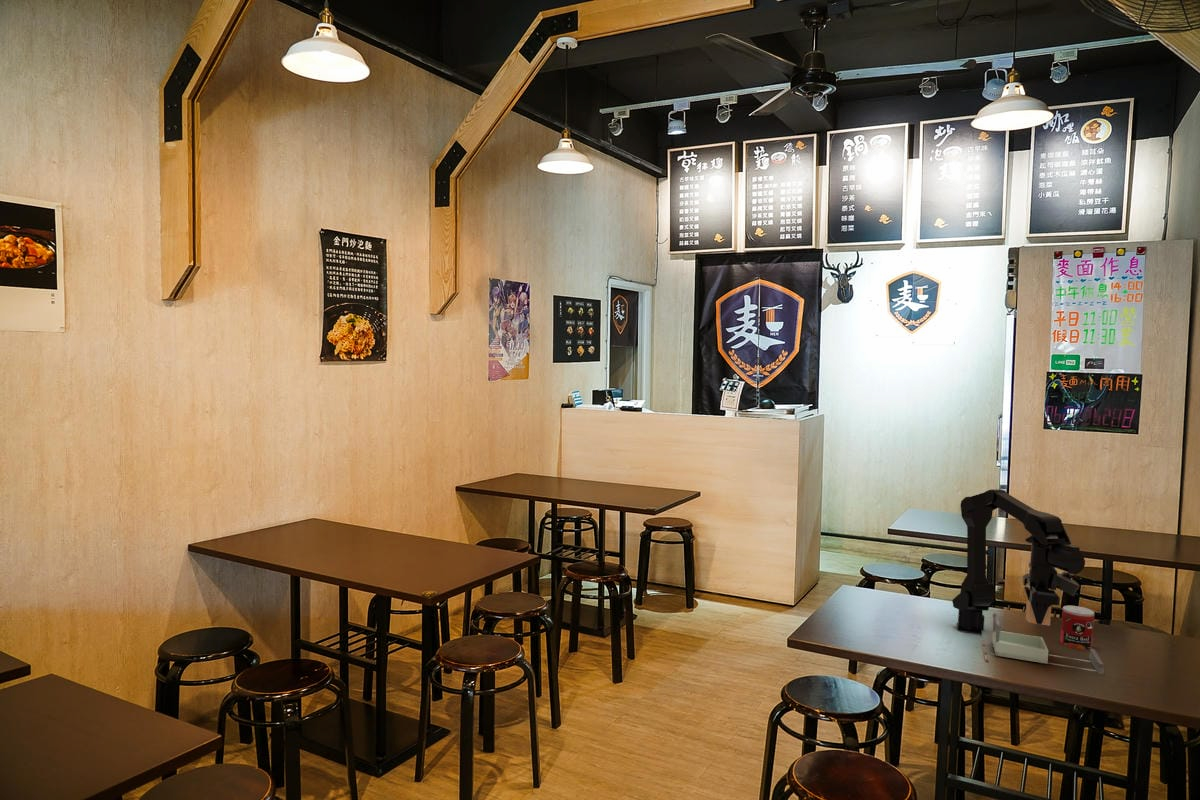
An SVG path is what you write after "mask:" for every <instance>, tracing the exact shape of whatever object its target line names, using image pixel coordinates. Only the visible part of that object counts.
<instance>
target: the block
mask: <svg viewBox="0 0 1200 800" xmlns="http://www.w3.org/2000/svg"><path fill="white" fill-rule="evenodd" d="M1051 614H1052V606H1050V607H1049V608H1048V610H1047V612H1046V614H1045V617H1044V619H1043V622H1042V624H1041V625H1044V626H1049V627H1050V626H1051V617H1052V615H1051ZM1025 620H1026V621H1027V623H1030V624H1034V625H1035V624H1036V625H1038V624H1037V622H1036V619H1035V616H1034V613H1033V609H1032V606H1031V603H1030V600H1028V599H1027V600H1026V606H1025Z"/></svg>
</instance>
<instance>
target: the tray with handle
mask: <svg viewBox="0 0 1200 800" xmlns="http://www.w3.org/2000/svg"><path fill="white" fill-rule="evenodd" d="M992 617H993V619H992V620H993V623H992V639H991V642H992V645H993V646H992V647H993V651H994V654H995V655H994V656H997V657H1000V658H1004V657H1005V658H1011V659H1016V660H1021V661H1029V662H1034V663H1038V664H1041V665H1042V664H1047V662H1048V661H1049V660H1048V659H1049V655H1048V654H1049V648H1048V647H1047V644H1046V643H1045V640H1044V638H1043V637H1042V636H1038V635H1037V636H1036V635H1029V634H1023V633H1019V632H1018V633H1017V632H1011V631H1002V630H1001V629H1002V625H1001V622H1000V618H999V616H998V614H997V613H995V612H994V613H993V614H992ZM1048 663H1049V662H1048ZM1047 665H1048V664H1047Z"/></svg>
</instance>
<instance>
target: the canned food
mask: <svg viewBox="0 0 1200 800" xmlns="http://www.w3.org/2000/svg"><path fill="white" fill-rule="evenodd" d="M1060 627H1061V628H1060V640H1059V641H1060V644H1062V645H1064V646H1065V647H1069V648H1071V649H1075V650H1076V649H1077V650H1083V651H1086V650H1090V649H1093V638H1094V627H1095V611H1094V610H1092V609H1090V608H1087V607H1083V606H1076V605H1064V606H1063V607H1062V613H1061V625H1060Z"/></svg>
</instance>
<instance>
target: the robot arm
mask: <svg viewBox="0 0 1200 800" xmlns="http://www.w3.org/2000/svg"><path fill="white" fill-rule="evenodd" d="M997 509H1000V510H1002V511H1003V512H1004V513H1006V514H1008V515H1010V516H1011V517H1013V518H1014V519H1016V520H1017V521H1019V522H1020V523H1021V524H1023V527H1024V529H1025V530H1026V531H1027V532H1028V533H1029V534H1030V536H1029V537H1026V538H1025V540H1024V541H1025V542H1027V543H1029V544H1031V548H1030V549H1031V550H1030V551H1031V552H1030V562H1028V568H1029V570H1028V571H1029V572H1028V573H1025V574H1024V575H1023V576H1022V583H1021V584H1022V585H1023V586H1024V587H1023V589H1024V592H1025V595H1026V597H1027V600H1030V603H1031V606H1032V609H1033V613H1034V616H1035V619H1036V622H1037V624H1036V625H1042V622H1043V619H1044V617H1045V614H1046V612H1047V610H1048V608H1049V607H1050V606H1051V607H1052V606H1060V596H1059V594H1058V593H1057V592H1056V591H1057V589H1058V590H1060V591H1062V592H1065V593H1066V594H1068V595H1069V596H1071V597H1075V595H1076V593H1077V592H1078V590H1079V588H1080V584H1079V583H1078V582H1077V581H1076V580H1075V579H1073V578H1072V575H1077V574H1079V573H1081V572H1082V571H1083V569H1084V568H1085V566H1086V560H1085V557H1084V554H1082V553H1081V552H1080V547H1079V546H1077V545H1072V542H1071V540H1070V537H1069V535H1068V533H1067V531H1066V528H1065V527H1064V524H1063V521H1062V519H1061V518H1060V517H1059V516H1057V515H1054V514H1051V513H1049V512H1044V511H1040V510H1036V509H1034V508H1033V507H1031V506H1029V505H1027V504H1026V503H1025V502H1023V501H1021V500H1019V499H1017V498H1016V497H1014V496H1012V495H1011V494H1010V493H1008V492H1007V491H1006V490H1004V489H992V488H991V489H989V490H986V491H984V492H982V493H978V494H975V495H972V496H965V497H964V498H963V499H962V500H961V501H960V512H961V513H960V514H961V518H962V520H963V522H964V524H966V526H967V527H966V529H967V531H966V532H967V534H966V536H967V537H966V543H967V544H966V545H967V547H966V549H967V551H966V553H967V554H966V555H967V556H966V558H967V559H966V569H967V570H966V576H965V577H964V579H963V580H962V583H961V585H960V593H959V594H957V595H956V596H955V597H954V598H953V599H952V607H953V608H954V609H957V610H958V614H957V623H956V628H957V631H960V632H966V633H971V634H979V635H983V632H982V631H984V630H985V629H984V628H985V615H984V613H983V611H989V609H990V607H991V604H993V600H994V598H996V597H995V592H994V591H995V589H994V588H995V585H994V583H990V582H989V579H988V578H987V527H988V525H989V524H990V522H991V520H992V519H993V513H994V512H993V511H995V510H997ZM1056 569H1058V570H1060V571H1063V572H1061V573H1059V572H1058V570H1056Z"/></svg>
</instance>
